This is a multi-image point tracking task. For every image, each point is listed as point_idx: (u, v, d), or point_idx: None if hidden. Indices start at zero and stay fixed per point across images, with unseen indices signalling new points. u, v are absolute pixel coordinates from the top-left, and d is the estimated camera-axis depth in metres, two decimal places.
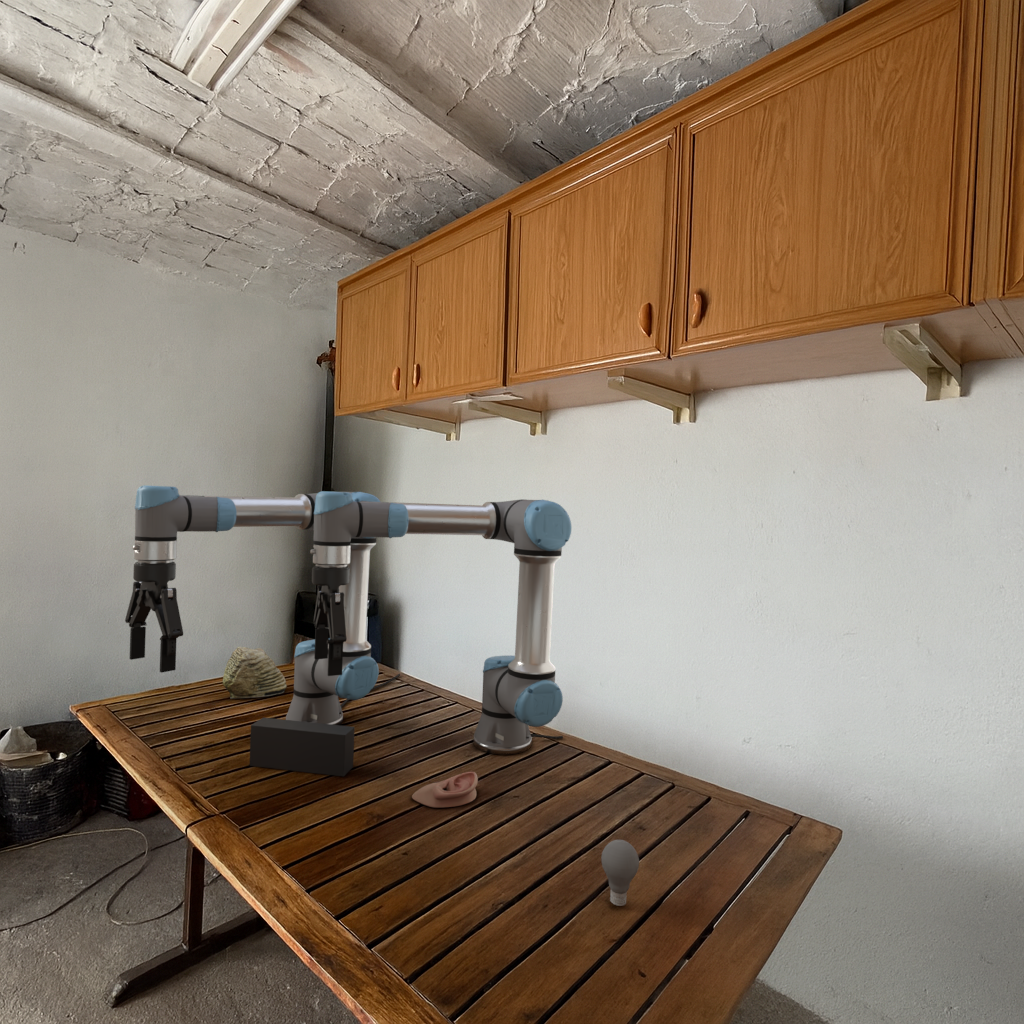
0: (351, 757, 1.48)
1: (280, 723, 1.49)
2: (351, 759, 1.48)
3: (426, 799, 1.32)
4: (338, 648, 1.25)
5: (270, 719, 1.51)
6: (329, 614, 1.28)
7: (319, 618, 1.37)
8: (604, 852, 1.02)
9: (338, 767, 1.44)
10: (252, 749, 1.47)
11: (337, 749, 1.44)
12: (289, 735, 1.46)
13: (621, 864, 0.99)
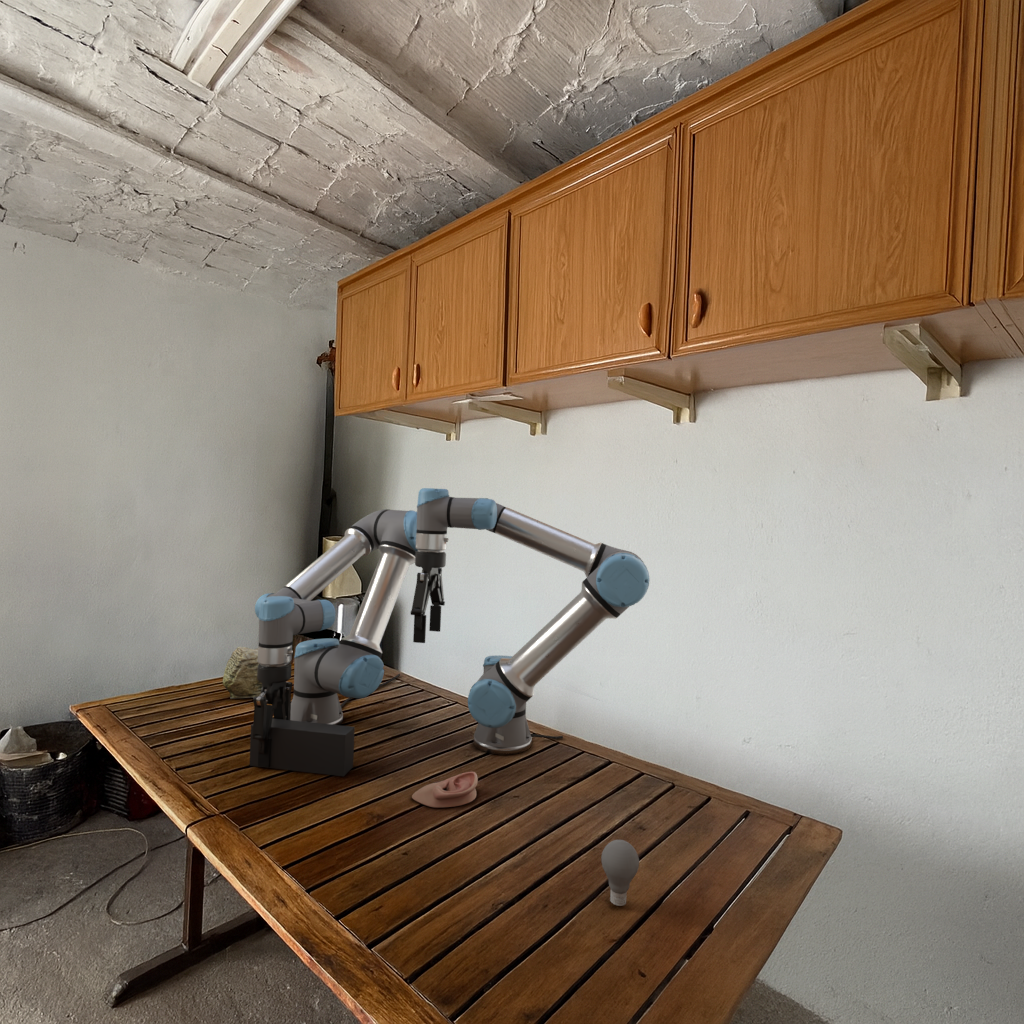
0: (351, 757, 1.48)
1: (280, 723, 1.49)
2: (351, 759, 1.48)
3: (426, 799, 1.32)
4: None
5: None
6: None
7: None
8: (604, 852, 1.02)
9: (338, 767, 1.44)
10: (252, 749, 1.47)
11: (337, 749, 1.44)
12: (289, 735, 1.46)
13: (621, 864, 0.99)
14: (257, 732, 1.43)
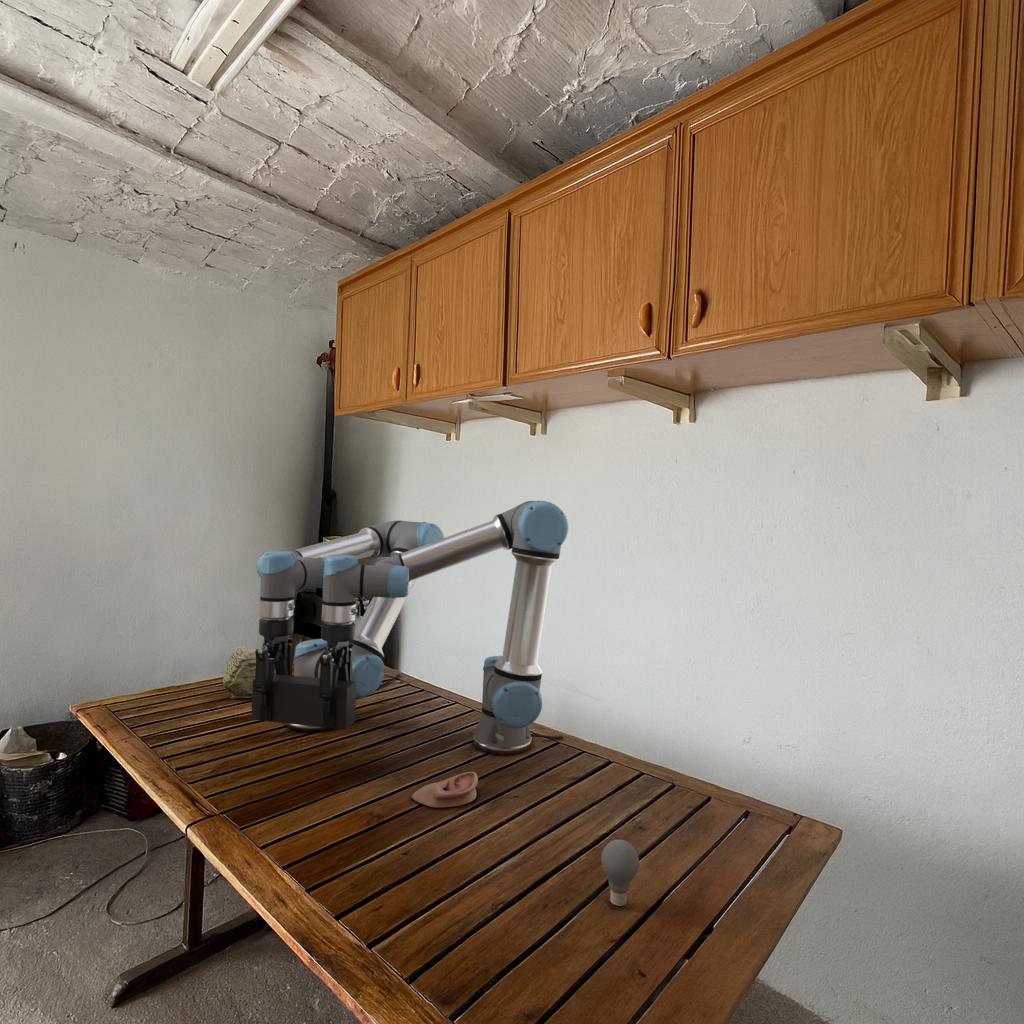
0: (353, 711, 1.48)
1: (282, 677, 1.49)
2: (353, 714, 1.48)
3: (426, 799, 1.32)
4: None
5: None
6: None
7: None
8: (604, 852, 1.02)
9: (340, 720, 1.44)
10: (254, 703, 1.47)
11: (339, 702, 1.44)
12: (291, 689, 1.45)
13: (621, 864, 0.99)
14: (259, 685, 1.43)
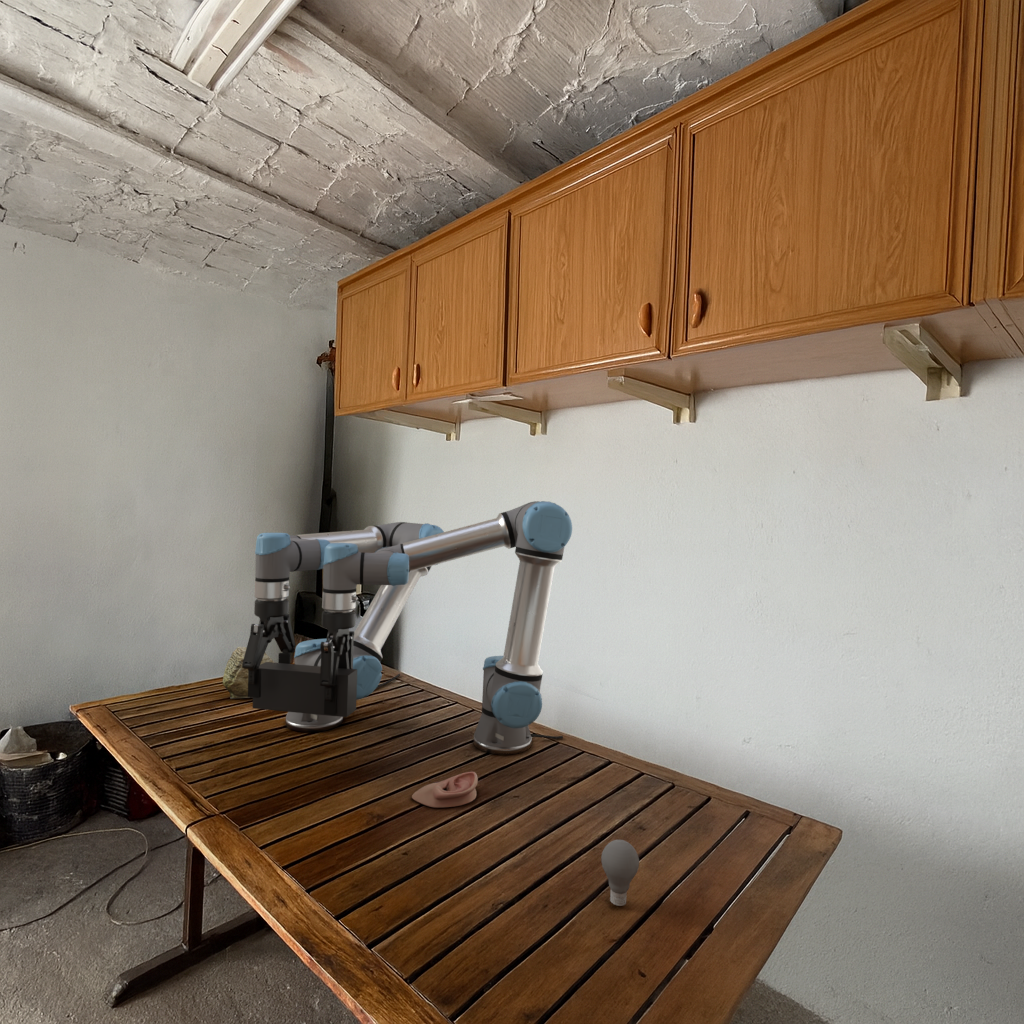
0: (354, 699, 1.48)
1: (283, 666, 1.49)
2: (354, 702, 1.48)
3: (426, 799, 1.32)
4: None
5: (273, 663, 1.51)
6: None
7: None
8: (604, 852, 1.02)
9: (341, 708, 1.44)
10: None
11: (340, 689, 1.44)
12: (292, 677, 1.45)
13: (621, 864, 0.99)
14: (248, 659, 1.40)
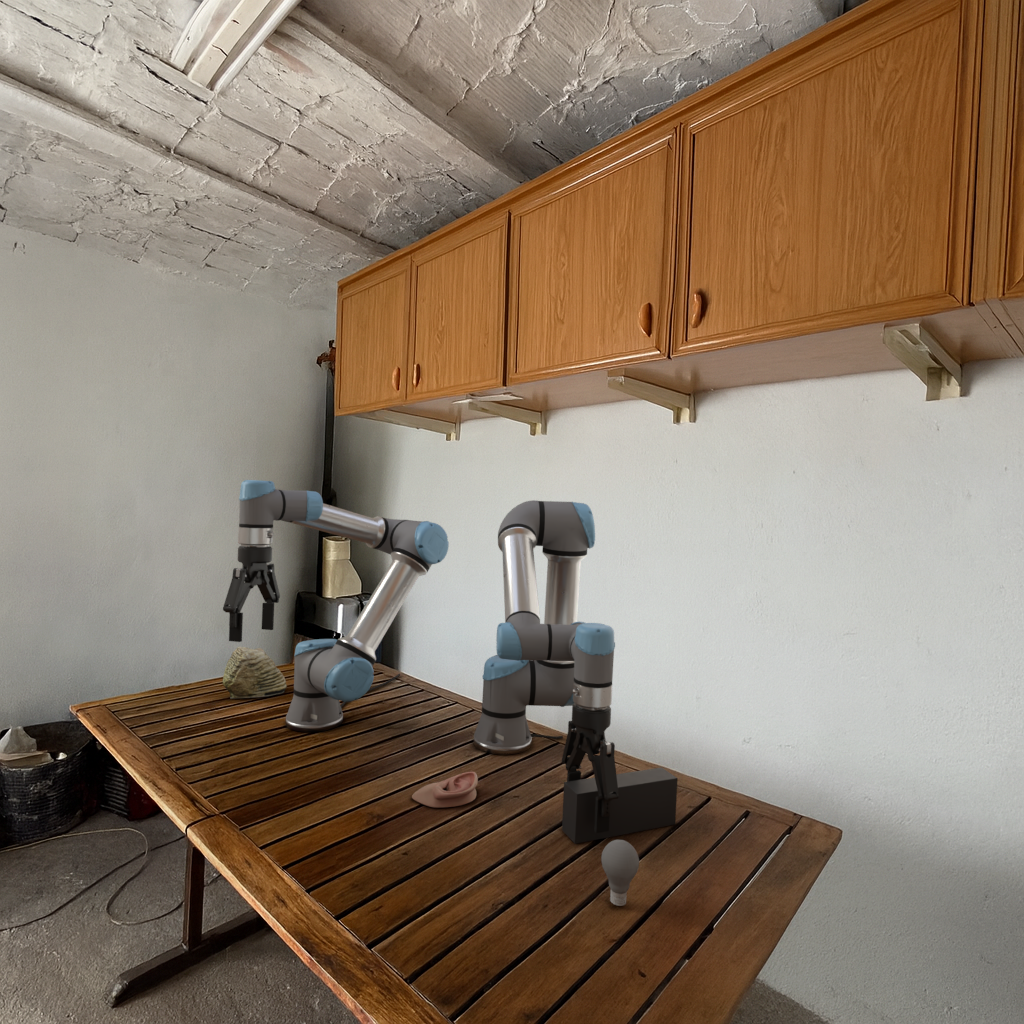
0: (572, 826, 1.21)
1: (646, 776, 1.28)
2: (572, 829, 1.21)
3: (426, 799, 1.32)
4: (608, 804, 1.17)
5: (665, 777, 1.28)
6: (595, 763, 1.19)
7: (573, 760, 1.27)
8: (604, 852, 1.02)
9: None
10: None
11: None
12: None
13: (621, 864, 0.99)
14: (229, 602, 1.40)
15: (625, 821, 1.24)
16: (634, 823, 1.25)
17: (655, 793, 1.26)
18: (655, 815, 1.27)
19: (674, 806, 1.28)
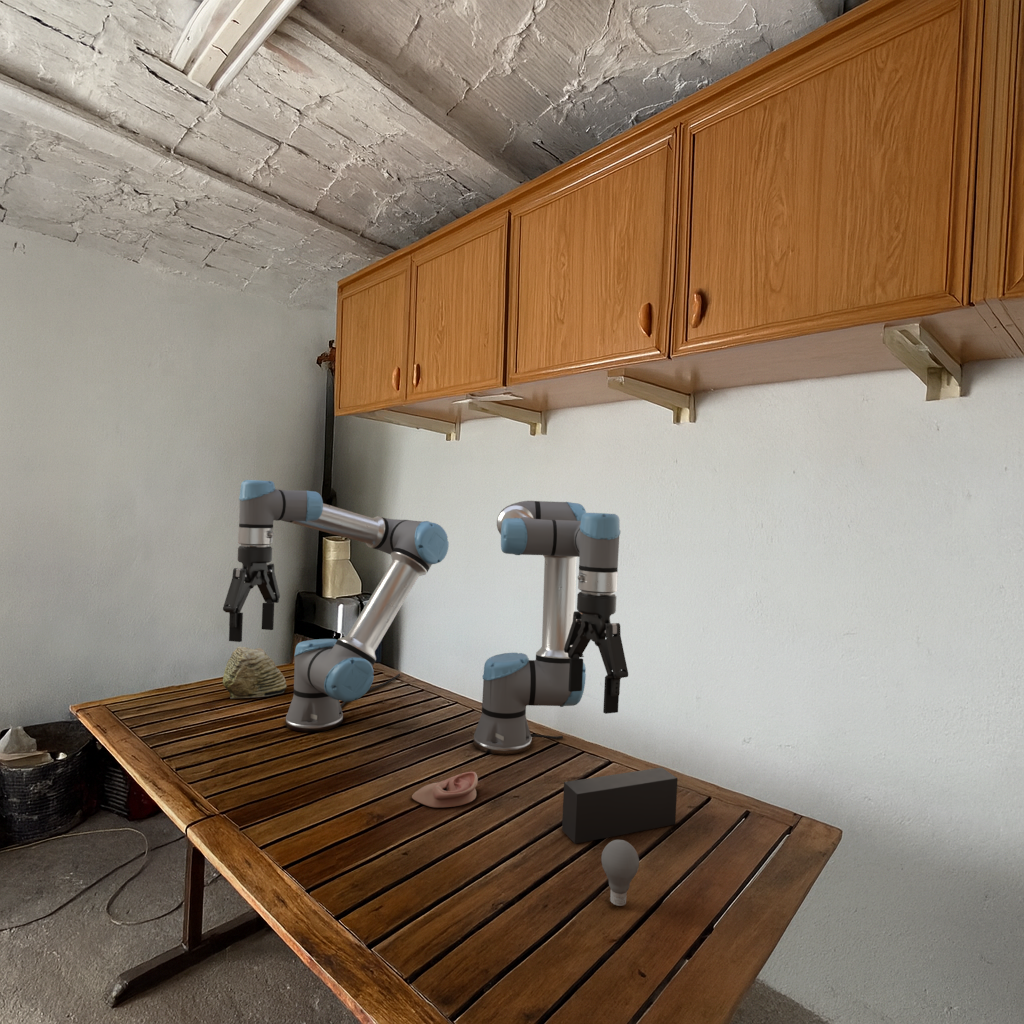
0: (572, 826, 1.21)
1: (646, 776, 1.28)
2: (572, 829, 1.21)
3: (426, 799, 1.32)
4: (617, 684, 1.16)
5: (665, 777, 1.28)
6: (602, 646, 1.18)
7: (576, 648, 1.27)
8: (604, 852, 1.02)
9: None
10: None
11: None
12: None
13: (621, 864, 0.99)
14: (229, 602, 1.40)
15: (625, 821, 1.24)
16: (634, 823, 1.25)
17: (655, 793, 1.26)
18: (655, 815, 1.27)
19: (674, 806, 1.28)
